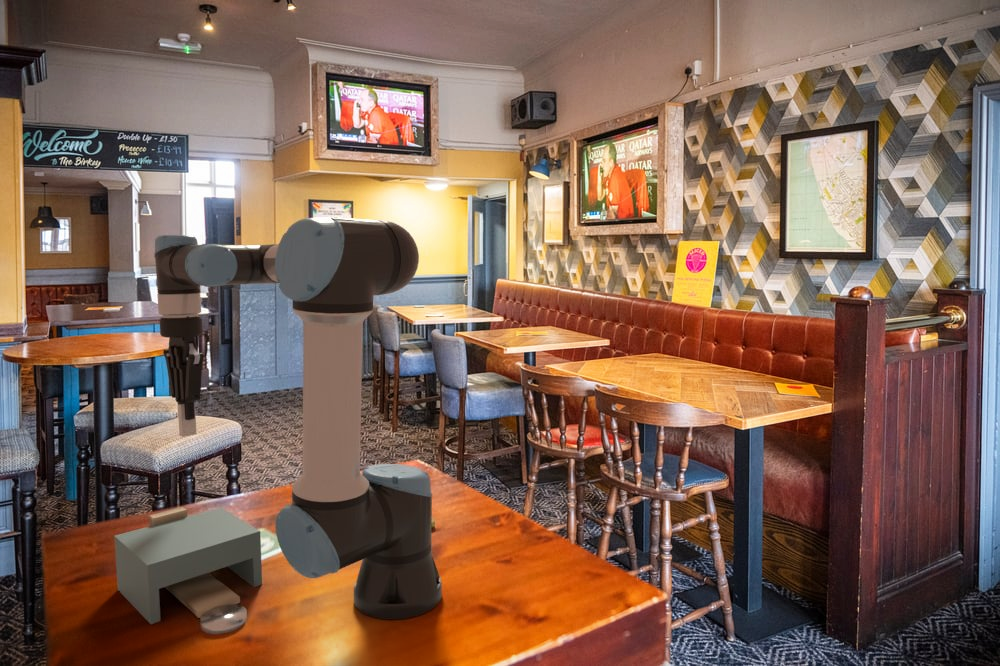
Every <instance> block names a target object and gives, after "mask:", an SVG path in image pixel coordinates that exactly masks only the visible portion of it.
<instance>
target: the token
mask: <svg viewBox="0 0 1000 666" xmlns="http://www.w3.org/2000/svg"><path fill="white" fill-rule="evenodd" d="M247 612H248V611H247V608H246V607H244V605H243V606H242V605H240V604H227V605H221V606H217V607H214V608H212V609H210V610H208V611H206V612H205V613H204V614H203V615H202V616H201V617H200V619H199V621H200V629H201V631H202V632H204V633H207V634H210V635H221V634H222V635H223V634H229V633H231V632H234V631H237V630H238V629H240V628H241V627H243V626H244V625H245V624H246V622H247V621H248V613H247Z"/></svg>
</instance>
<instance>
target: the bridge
mask: <svg viewBox="0 0 1000 666" xmlns="http://www.w3.org/2000/svg"><path fill="white" fill-rule="evenodd" d="M113 537H114V551H115V552H114V554H115V568H116V569H115V570H116V581H117V582H116V584H117V591H118V592H119V591H120V592H119V593H121V595H122V596H123V597H124V598H125V599H126V600H127V601H128V602H129V603H130V604H131V606H133V608H135V610H136V611H137V612H138V613H139V614H140V615H141V616H142V617H143V619H145V620H146V621H147V623H149V624H150V625H153V624H157V623H158V622H161V606H160V589H162V588H165V587H166V586H169V585H172V584H175V583H178V582H181V581H184V580H187V579H190V578H193V577H196V576H199V575H202V574H205V573H208V572H209V573H211V572H213V571H217V570H221V569H223V568H228V569H229V570H231V571H232V572H234V574H236V575H237V576H238V577H240V578H242V579H243V580H244V581H246V582H247V583H248V584H249V585H251V586H252V587H253V588H256V587H258V586H259V587H260V586H261V585H263V573H262V572H263V571H262V570H263V569H262V545H261V544H262V542H261V541H262V540H261V531H260V530H259V529H257V528H256V527H254V526H252V525H251V524H249V523H248V522H246V521H244V520H243V519H242V518H240V517H238V516H236V515H235V514H233V513H232V512H229V510H227V509H225V508H223V507H217V508H214V509H210V510H206V511H202V512H201V511H200V512H198V513H194V514H191V515H187V516H186V517H183V518H179V519H175V520H171V521H168V522H164V523H160V524H156V525H153V526H150V525H149V526H145V527H142V528H138V529H134V530H131V531H127V532H123V533H119V534H115V535H113Z"/></svg>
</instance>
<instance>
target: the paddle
mask: <svg viewBox="0 0 1000 666" xmlns="http://www.w3.org/2000/svg"><path fill="white" fill-rule="evenodd" d="M187 510H188V509H186V508H185V507H184V506H181V507H175V508H173V509H168V510H166V511H165V510H164V511H161V512H157V513H154V514H153V513H152V514H149V515H148V517H149V519H148V520H149V522H148V523H149V526H153V525H156V524H160V523H164V522H168V521H171V520H175V519H179V518H183V517H186V516H188V511H187ZM164 588H165V589H166V590H167V591H168V592H169V593H170V594H172V596H174V598H176V599H177V600H178V601H179V602H180V603H182V604H183V605H184V606H185V607H186V608H187V609H188V610H189V611H190V612H192V614H194V615H195V616H196V618H197V619H199V618H201V616H202V615H203V614H204V613H205V612H206V611H208V610H210V609H212V608H214V607H217V606H221V605H227V604H236V605H239V603H241V596H239V595H238V594H237V593H235V592H234V591H233V590H232V589H230V587H228V586H226V585H225V584H224V583H222V582H221V581H220V580H219V579H218V578H216V577H215V576H214V575H212V574H211V572H208V573H205V574H202V575H199V576H196V577H193V578H190V579H187V580H184V581H181V582H178V583H175V584H172V585H169V586H166V587H164Z"/></svg>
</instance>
